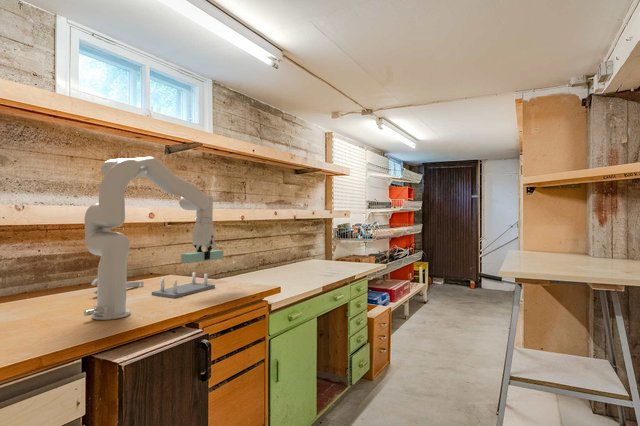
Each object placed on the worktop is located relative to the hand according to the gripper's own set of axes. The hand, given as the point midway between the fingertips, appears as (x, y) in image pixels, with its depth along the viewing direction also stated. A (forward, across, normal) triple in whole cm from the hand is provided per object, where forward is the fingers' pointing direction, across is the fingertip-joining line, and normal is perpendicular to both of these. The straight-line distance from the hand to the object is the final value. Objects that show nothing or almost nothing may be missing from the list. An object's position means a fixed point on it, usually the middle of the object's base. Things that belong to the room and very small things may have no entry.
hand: (203, 258), depth 179 cm
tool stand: (+17, -13, +1) cm, 21 cm away
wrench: (+18, -39, -15) cm, 46 cm away
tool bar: (+1, 0, 0) cm, 1 cm away
